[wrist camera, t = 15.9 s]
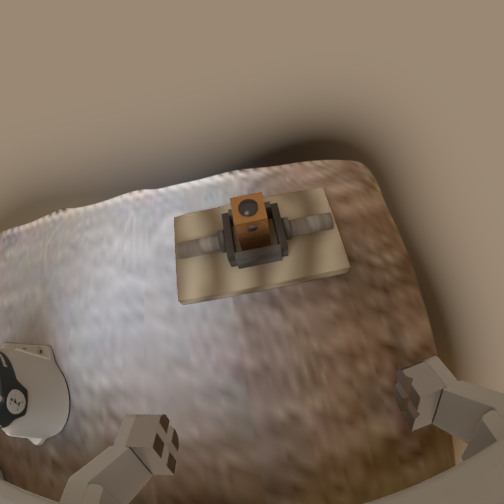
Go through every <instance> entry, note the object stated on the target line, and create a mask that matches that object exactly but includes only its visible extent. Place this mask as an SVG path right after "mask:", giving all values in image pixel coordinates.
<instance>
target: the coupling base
mask: <svg viewBox="0 0 504 504" xmlns="http://www.w3.org/2000/svg"><path fill="white" fill-rule="evenodd" d="M263 200H264V205H265V209H266V213H267V218H268V225H269V233H270V241H271V246H266V247H261V248H256V249H251V250H246V251H242V249H241V246H240V242H239V239H238V236H237V233H236V230H235V227H234V222H233V215H232V209H231V205H228V206H223V207H218V208H214V209H209V210H205V211H200V212H196V213H191V214H187V215H182V216H178V217H174V229H175V254H176V273H177V289H178V301H179V302H180V303H181V304H182V305H187V304H192V303H198V302H204V301H209V300H215V299H220V298H226V297H231V296H237V295H242V294H247V293H252V292H258V291H263V290H268V289H273V288H278V287H283V286H288V285H292V284H297V283H302V282H307V281H311V280H316V279H321V278H325V277H330V276H334V275H339V274H343V273H348V271H349V269H350V264H349V261H348V258H347V255H346V252H345V249H344V246H343V243H342V240H341V237H340V234H339V231H338V228H337V225H336V223H335V220H334V217H333V214H332V211H331V209H330V206H329V203H328V201H327V198H326V195H325V193H324V190H323V187H322V188H317V189H311V190H305V191H299V192H294V193H289V194H283V195H278V196H273V197H267V198H263Z"/></svg>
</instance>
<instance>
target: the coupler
mask: <svg viewBox="0 0 504 504" xmlns="http://www.w3.org/2000/svg"><path fill="white" fill-rule="evenodd" d="M230 202H231V209H232V215H233V222H234V227H235V230H236V233H237V236H238V239H239V242H240V246H241V249H242V251H246V250H251V249H256V248H261V247H266V246H271V241H270V233H269V225H268V218H267V213H266V209H265V205H264V200H263V196H262V192H259V193H254V194H249V195H244V196H239V197H234V198H230Z"/></svg>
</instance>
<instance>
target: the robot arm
mask: <svg viewBox="0 0 504 504" xmlns="http://www.w3.org/2000/svg"><path fill="white" fill-rule="evenodd" d="M397 379H398V381H399V383H398V384H397V385H396V387H395V398H396V402H397V405H398V407H399V409H400V410H401V411H404V412H406V415H405V420H406V421H407V423H408V425H409V427H410V429H411V430H412V431H413V430H416V429H418V428H421V427H424V426H426V425H428V424H431V423H432V424H433V425H435V426H437V427H439V428H440V429H442V430H444V431H446V432H448V433H449V434H451V435H453V436H455V437H457V438H459V439H460V440H462V441H464V442H466V443H468V446H467V448H466V450H465V452H464V453H463V455H462V459H463V462H462V463H460V464H458V465H456V466H454V467H452V468H450V469H448V470H446V471H444V472H442V473H440V474H438V475H436V476H434V477H432V478H430V479H428V480H425V481H423V482H421V483H419V484H416V485H414V486H412V487H409V488H407V489H404V490H402V491H399V492H397V493H394V494H391V495H388V496H386V497H383V498H380V499H377V500H374V501H371V502H368V503H364V504H504V394H503V393H500V392H497V391H493V390H490V389H487V388H484V387H481V386H477V385H475V384H472V383H468V382H465V381H462V380H461V381H459V382H458V380H457V379H456V378H455V377H454V376H453V374H452V373H451V372H450V371H449V370H448V368H447V367H446V366H445V365H444V364H443V363H442V361H441V360H440V359H439V358H438V357H437V356H433V357H431V358H428V359H426V360H423V361H421V362H418V363H415V364H413V365H410V366H407V367H405V368H402V369H399V370H398V372H397ZM68 413H69V394H68V389H67V385H66V382H65V379H64V377H63V375H62V373H61V371H60V370H59V368H58V366H57V365H56V363H55V359H54V355H53V351H52V349H51V347H50V346H46V345H29V344H14V343H3V345H2V346H1V348H0V428H1V429H2V430H3V431H4V432H6V434H7V435H9V436H15V437H23V438H28V439H29V440H30V441H31V442H32V443H34V444H35V445H42V444H43V443H44V441H45V440H46V439H47V438H48V437H51V436H54V435H56V434H58V433H59V432H60V431H61V430H62V429H63V427H64V426H65V424H66V421H67V418H68ZM178 448H179V441H178V436H177V433H176V431H175V429H174V428H173V427H171V426H169V419H168V418H167V416H166V415H164V414H127V415H126V416H125V417H124V418H123V421H122V424H121V426H120V429H119V432H118V434H117V437H116V440H115V442H114V445H113V446H109V447H108V448H107V449H105V450H104V451H103V452H102V453H100V454H99V455H98V456H97V457H95V458H94V459H93V460H92V461H90V462H89V463H88V464H86V465H85V466H84V467H83V468H81V469H80V470H79V471H77V472H76V473H75V474H73V475H72V476H71V477H69V479H68V482H67V484H66V487H65V489H64V492H63V494H62V497H61V499H60V502H56V501H53V500H50V499H47V498H44V497H42V496H39V495H36V494H34V493H31V492H29V491H26V490H24V489H22V488H19V487H17V486H15V485H12V484H10V483H8V482H6V481H4V480H2V479H0V504H129V503H130V501H131V500H132V499H133V498H134V497H135V496H136V495H137V494H138V492H139V491H140V490H141V489H142V488H143V487H144V486H145V484H146V483H147V482H148V481H149V480H150V479H151V477H152V476H153V475H174V471H175V466H176V460H175V458H174V457H173V456H174V455H175V454H176V453H177V452H178Z"/></svg>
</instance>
